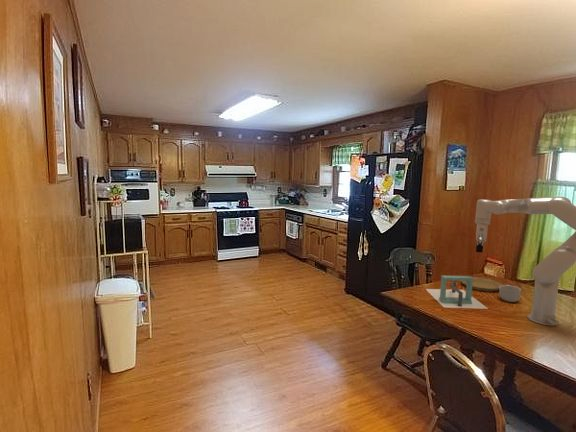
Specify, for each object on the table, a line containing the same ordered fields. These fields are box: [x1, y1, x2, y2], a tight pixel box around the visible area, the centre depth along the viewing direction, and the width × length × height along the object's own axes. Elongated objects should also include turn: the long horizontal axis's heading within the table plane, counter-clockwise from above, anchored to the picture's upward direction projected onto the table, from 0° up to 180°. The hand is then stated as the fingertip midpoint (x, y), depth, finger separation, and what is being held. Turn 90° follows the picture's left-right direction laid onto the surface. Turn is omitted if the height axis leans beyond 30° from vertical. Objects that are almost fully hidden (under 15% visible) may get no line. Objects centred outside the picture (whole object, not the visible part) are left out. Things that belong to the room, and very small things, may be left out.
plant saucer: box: [461, 276, 503, 293], centre depth 222 cm, size 24×24×3 cm
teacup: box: [498, 284, 522, 303], centre depth 198 cm, size 14×11×8 cm
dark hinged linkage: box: [449, 280, 463, 307], centre depth 196 cm, size 25×5×8 cm, turn 161°
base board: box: [425, 288, 489, 310], centre depth 197 cm, size 30×24×2 cm
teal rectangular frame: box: [439, 275, 473, 304], centre depth 190 cm, size 6×16×15 cm, turn 86°
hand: (479, 250), depth 189 cm, fingers open, 9 cm apart
